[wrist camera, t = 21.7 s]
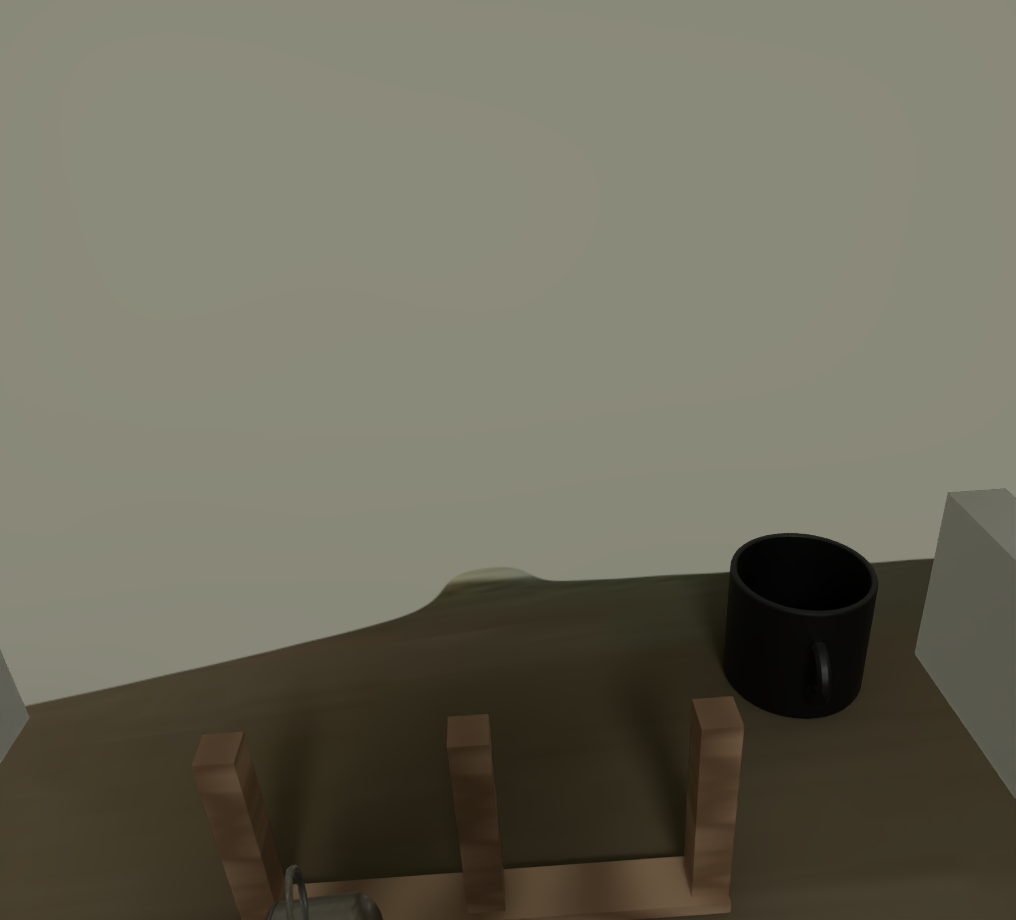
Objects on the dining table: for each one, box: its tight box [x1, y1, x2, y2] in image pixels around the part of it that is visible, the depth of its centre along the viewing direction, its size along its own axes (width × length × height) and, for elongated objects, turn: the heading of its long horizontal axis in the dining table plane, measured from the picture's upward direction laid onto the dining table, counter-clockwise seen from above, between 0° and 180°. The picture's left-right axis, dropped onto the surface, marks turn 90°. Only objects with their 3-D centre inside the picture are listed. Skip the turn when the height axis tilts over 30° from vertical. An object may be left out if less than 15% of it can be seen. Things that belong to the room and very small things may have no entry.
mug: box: [724, 533, 878, 719], centre depth 58 cm, size 9×12×9 cm
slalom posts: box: [191, 696, 744, 920], centre depth 44 cm, size 26×3×13 cm, turn 92°
